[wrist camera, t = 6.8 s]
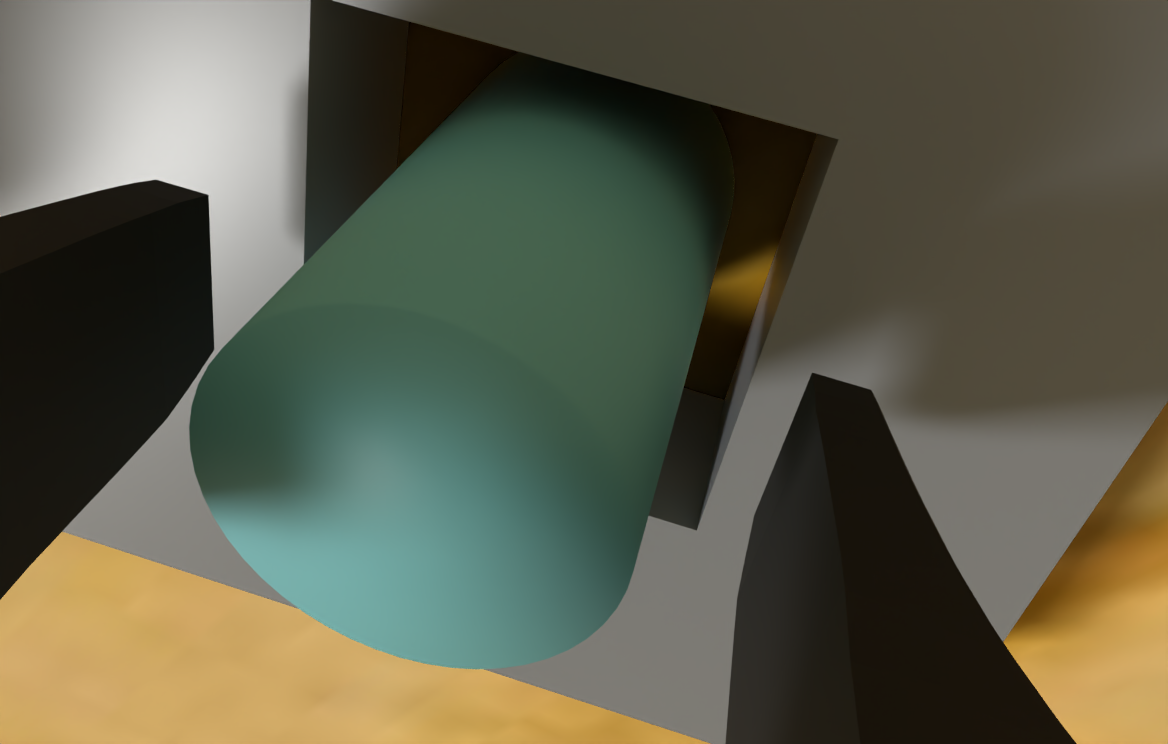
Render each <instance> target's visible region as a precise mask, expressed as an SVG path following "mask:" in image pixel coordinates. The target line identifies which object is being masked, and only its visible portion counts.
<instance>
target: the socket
mask: <svg viewBox="0 0 1168 744" xmlns="http://www.w3.org/2000/svg"><path fill="white" fill-rule="evenodd" d="M409 22H413V23H417V24H420V25H424V26H428V27H431V28H435V29H438V30H442V31H446V32H449V33H453V34H457V35H460V36H464V37H468V38H471V39H475V40H478V41H482V42H486V43H489V44H493V45H497V46H500V47H504V48H508V49H511V50H515V51H519V52H522V53H526V54H529V55H533V56H537V57H540V58H544V59H548V60H551V61H555V62H559V63H562V64H566V65H570V66H573V67H577V68H580V69H584V70H588V71H591V72H595V73H599V74H602V75H606V76H610V77H613V78H617V79H621V80H624V81H628V82H631V83H635V84H639V85H642V86H646V87H650V88H653V89H657V90H661V91H664V92H668V93H672V94H675V95H679V96H682V97H686V98H690V99H693V100H697V101H701V102H704V103H708V104H712V105H715V106H719V107H723V108H726V109H730V110H733V111H737V112H741V113H744V114H748V115H752V116H755V117H759V118H763V119H766V120H770V121H774V122H777V123H781V124H784V125H788V126H792V127H795V128H799V129H803V130H806V131H810V132H814V133H817V136H816V138H815V141H814V144H813V147H812V150H811V153H810V156H809V159H808V161H807V164H806V167H805V170H804V173H803V176H802V179H801V182H800V184H799V187H798V190H797V193H796V196H795V199H794V202H793V205H792V207H791V210H790V213H789V216H788V219H787V222H786V225H785V228H784V230H783V233H782V236H781V239H780V242H779V245H778V248H777V251H776V253H775V256H774V259H773V262H772V265H771V268H770V271H769V274H768V276H767V279H766V282H765V285H764V288H763V291H762V294H761V297H760V300H759V302H758V305H757V308H756V311H755V314H754V317H753V320H752V323H751V325H750V328H749V331H748V334H747V337H746V340H745V343H744V346H743V348H742V351H741V354H740V357H739V360H738V363H737V366H736V369H735V371H734V374H733V377H732V380H731V383H730V386H729V389H728V392H727V394H726V397H725V400H723V399H720V398H716V397H713V396H710V395H706V394H703V393H700V392H696V391H693V390H689V389H686V388H683V391H682V395H681V399H680V402H679V406H678V410H677V413H676V417H675V421H674V424H673V428H672V432H671V435H670V439H669V443H668V446H667V450H666V454H665V457H664V461H663V465H662V468H661V472H660V476H659V479H658V483H657V487H656V490H655V494H654V498H653V501H652V505H651V509H650V512H649V516H648V520H647V523H646V527H645V531H644V534H643V538H642V542H641V545H640V549H639V553H638V556H637V560H636V564H635V567H634V571H633V574H632V577H631V580H630V583H629V586H628V589H627V591H626V593H625V595H624V597H623V598H622V600H621V602H620V604H619V606H618V607H617V609H616V610H615V611H614V613H613V614H612V615H611V616H610V617H609V619H608V620H607V621H606V622H605V623H604V625H603V626H601V627H600V628H599V629H598V630H597V631H596V632H594V633H593V634H592V635H591V636H590V637H589V638H587V639H586V640H584V641H582V642H581V643H579V644H578V645H576V646H574V647H573V648H571V649H569V650H567V651H565V652H562V653H560V654H558V655H555V656H553V657H551V658H548V659H545V660H541V661H537V662H534V663H530V664H526V665H521V666H514V667H507V668H496V669H485V670H488V671H491V672H494V673H497V674H500V675H503V676H506V677H509V678H512V679H515V680H518V681H521V682H525V683H528V684H531V685H534V686H537V687H540V688H543V689H546V690H549V691H552V692H555V693H558V694H561V695H564V696H567V697H570V698H574V699H577V700H580V701H583V702H586V703H589V704H592V705H595V706H598V707H601V708H604V709H607V710H610V711H613V712H616V713H619V714H622V715H626V716H629V717H632V718H635V719H638V720H641V721H644V722H647V723H650V724H653V725H656V726H659V727H662V728H665V729H668V730H671V731H674V732H678V733H681V734H684V735H687V736H690V737H693V738H696V739H699V740H702V741H705V742H708V743H711V744H725V743H726V730H727V717H728V704H729V691H730V678H731V665H732V653H733V640H734V628H735V616H736V605H737V596H738V591H739V586H740V581H741V576H742V571H743V566H744V561H745V556H746V551H747V547H748V542H749V537H750V532H751V528H752V523H753V518H754V514H755V512H756V509H757V507H758V505H759V502H760V500H761V497H762V495H763V492H764V490H765V487H766V485H767V482H768V480H769V477H770V475H771V473H772V470H773V468H774V465H775V463H776V460H777V458H778V455H779V453H780V450H781V448H782V445H783V443H784V440H785V438H786V436H787V433H788V431H789V428H790V426H791V423H792V421H793V418H794V416H795V413H796V411H797V408H798V406H799V403H800V401H801V399H802V396H803V394H804V391H805V389H806V386H807V384H808V381H809V379H810V376H811V374H812V373H816V374H819V375H823V376H826V377H829V378H833V379H836V380H840V381H843V382H846V383H850V384H853V385H857V386H860V387H863V388H867V389H870V390H872V392H873V394H874V396H875V398H876V400H877V402H878V404H879V406H880V409H881V411H882V413H883V415H884V418H885V420H886V422H887V424H888V427H889V429H890V431H891V433H892V436H893V438H894V440H895V442H896V445H897V447H898V449H899V451H900V454H901V456H902V458H903V460H904V462H905V464H906V467H907V469H908V471H909V473H910V475H911V477H912V480H913V482H914V484H915V486H916V488H917V490H918V492H919V494H920V496H921V498H922V500H923V503H924V505H925V507H926V508H927V510H928V512H929V514H930V516H931V518H932V520H933V522H934V524H935V526H936V528H937V530H938V532H939V534H940V536H941V538H942V539H943V541H944V543H945V545H946V547H947V549H948V551H949V553H950V555H951V557H952V559H953V560H954V562H955V564H956V566H957V568H958V569H959V571H960V573H961V575H962V576H963V578H964V580H965V581H966V583H967V585H968V586H969V588H970V590H971V591H972V593H973V595H974V596H975V598H976V600H977V601H978V603H979V605H980V606H981V608H982V610H983V611H984V613H985V615H986V616H987V618H988V620H989V621H990V623H991V624H992V626H993V628H994V629H995V631H996V632H997V634H998V635H999V637H1000V638H1001V640H1002V641H1004V640H1005V638H1006V637H1007V635H1008V634H1009V633H1010V631H1011V630H1012V628H1013V627H1014V625H1015V624H1016V622H1017V621H1018V619H1019V618H1020V616H1021V615H1022V614H1023V612H1024V611H1025V609H1026V608H1027V606H1028V605H1029V603H1030V602H1031V600H1032V599H1033V597H1034V596H1035V595H1036V593H1037V592H1038V590H1039V589H1040V587H1041V586H1042V584H1043V583H1044V581H1045V580H1046V578H1047V577H1048V576H1049V574H1050V573H1051V571H1052V570H1053V568H1054V567H1055V565H1056V564H1057V562H1058V561H1059V559H1060V558H1061V557H1062V555H1063V554H1064V552H1065V551H1066V549H1067V548H1068V546H1069V545H1070V543H1071V542H1072V540H1073V539H1074V538H1075V536H1076V535H1077V533H1078V532H1079V530H1080V529H1081V527H1082V526H1083V524H1084V523H1085V521H1086V520H1087V519H1088V517H1089V516H1090V514H1091V513H1092V511H1093V510H1094V508H1095V507H1096V505H1097V504H1098V503H1099V501H1100V500H1101V498H1102V497H1103V495H1104V494H1105V492H1106V491H1107V489H1108V488H1109V486H1110V485H1111V484H1112V482H1113V481H1114V479H1115V478H1116V476H1117V475H1118V473H1119V472H1120V470H1121V469H1122V467H1123V466H1124V465H1125V463H1126V462H1127V460H1128V459H1129V457H1130V456H1131V454H1132V453H1133V451H1134V450H1135V448H1136V447H1137V446H1138V444H1139V443H1140V441H1141V440H1142V438H1143V437H1144V435H1145V434H1146V432H1147V431H1148V429H1149V428H1150V427H1151V425H1152V424H1153V422H1154V421H1155V419H1156V418H1157V416H1158V415H1159V413H1160V412H1161V410H1162V409H1163V408H1164V406H1165V405H1166V403H1167V402H1168V0H0V217H1V216H5V215H9V214H12V213H16V212H20V211H24V210H27V209H31V208H35V207H39V206H42V205H46V204H50V203H54V202H57V201H61V200H65V199H69V198H73V197H76V196H80V195H84V194H88V193H92V192H96V191H100V190H104V189H108V188H113V187H117V186H122V185H126V184H131V183H137V182H143V181H149V180H159V181H163V182H166V183H170V184H173V185H176V186H180V187H183V188H187V189H190V190H193V191H197V192H200V193H204V194H207V195H209V219H210V246H211V272H212V299H213V325H214V351H213V353H212V354H211V356H210V357H209V359H208V360H207V362H206V363H205V365H204V366H203V368H202V369H201V371H200V372H199V374H198V375H197V377H196V378H195V380H194V381H193V383H192V384H191V386H190V387H189V389H188V390H187V392H186V393H185V394H184V396H183V397H182V399H181V400H180V401H179V403H178V404H177V405H176V407H175V408H174V410H173V411H172V412H171V414H170V415H169V417H168V418H167V419H166V420H165V422H164V423H163V424H162V425H161V426H160V427H159V428H158V429H157V430H156V432H155V433H154V434H153V435H152V436H151V437H150V438H149V439H148V440H147V441H146V442H145V444H144V445H143V446H142V447H141V448H140V449H139V450H138V451H137V452H136V453H135V454H134V455H133V457H132V458H131V459H130V460H129V461H128V462H127V463H126V464H125V465H124V466H123V467H122V468H121V470H120V471H119V472H118V473H117V474H116V475H115V476H114V477H113V478H112V479H111V480H110V481H109V482H108V483H107V484H106V485H105V486H104V488H103V489H102V490H101V491H100V492H99V493H98V494H97V495H96V496H95V497H94V498H93V499H92V500H91V501H90V502H89V503H88V504H87V505H86V507H85V508H84V509H83V510H82V511H81V512H80V513H79V514H78V515H77V516H76V517H75V518H74V519H73V520H72V521H71V522H70V523H69V525H68V526H67V527H66V528H65V529H64V530H63V531H62V532H66V533H69V534H72V535H75V536H78V537H81V538H84V539H87V540H90V541H93V542H96V543H99V544H102V545H105V546H108V547H111V548H114V549H118V550H121V551H124V552H127V553H130V554H133V555H136V556H139V557H142V558H145V559H148V560H151V561H154V562H157V563H160V564H163V565H167V566H170V567H173V568H176V569H179V570H182V571H185V572H188V573H191V574H194V575H197V576H200V577H203V578H206V579H209V580H212V581H215V582H219V583H222V584H225V585H228V586H231V587H234V588H237V589H240V590H243V591H246V592H249V593H252V594H255V595H258V596H261V597H264V598H267V599H271V600H274V601H277V602H280V603H283V604H286V605H289V606H292V607H295V608H298V607H296V606H295V605H294V604H292V603H291V602H290V601H288V600H287V599H285V598H284V597H283V596H281V595H280V594H279V593H278V592H277V591H276V590H275V589H274V588H272V587H271V586H270V585H269V584H268V583H267V582H266V581H264V580H263V579H262V578H261V577H260V576H259V575H258V574H257V573H256V572H255V571H254V570H253V568H252V567H251V566H250V565H249V564H248V563H247V562H246V561H245V560H244V559H243V558H242V557H241V555H240V554H239V553H238V551H237V550H236V549H235V548H234V546H233V545H232V544H231V543H230V541H229V540H228V539H227V537H226V536H225V534H224V533H223V531H222V530H221V528H220V526H219V525H218V523H217V522H216V520H215V519H214V517H213V515H212V513H211V511H210V509H209V507H208V505H207V503H206V501H205V499H204V497H203V495H202V492H201V489H200V486H199V483H198V480H197V477H196V475H195V471H194V466H193V461H192V456H191V451H190V436H189V424H190V415H191V406H192V403H193V399H194V396H195V393H196V390H197V386H198V384H199V382H200V380H201V378H202V376H203V374H204V372H205V371H206V369H207V367H208V365H209V364H210V363H211V361H212V360H213V359H214V358H215V356H216V355H217V354H218V353H219V352H220V350H221V349H222V348H223V347H224V346H225V345H226V344H227V343H228V342H229V341H230V340H231V339H232V338H233V337H234V336H235V335H236V333H237V332H238V331H239V330H240V329H241V328H242V327H243V326H244V325H245V324H246V323H247V322H248V321H249V320H250V319H251V318H252V317H253V316H254V315H255V314H256V313H257V312H258V311H259V310H260V309H261V308H262V307H263V306H264V305H265V304H266V303H267V302H268V301H269V300H270V299H271V298H272V297H273V296H274V295H275V294H276V293H277V291H278V290H279V289H280V288H281V287H282V286H283V285H284V284H285V283H286V282H287V281H288V280H289V279H290V278H291V277H292V276H293V275H294V274H295V273H296V272H297V271H298V270H299V269H300V268H301V267H302V266H303V265H304V264H305V263H306V262H307V261H308V260H309V259H310V258H311V257H312V256H313V255H314V254H315V253H316V252H317V250H318V249H319V248H320V247H321V246H322V245H323V244H324V243H325V242H326V241H327V240H328V239H329V238H330V237H331V236H332V235H333V234H334V233H335V232H336V231H337V230H338V229H339V228H340V227H341V226H342V225H343V224H344V223H345V222H346V221H347V220H348V219H349V218H350V217H351V216H352V215H353V214H354V213H355V212H356V211H357V209H358V208H359V207H360V206H361V205H362V204H363V203H364V202H365V201H366V200H367V199H368V198H369V197H370V196H371V195H372V194H373V193H374V192H375V191H376V190H377V189H378V188H379V187H380V186H381V185H382V184H383V183H384V182H385V181H386V180H387V179H388V178H389V177H390V176H391V175H392V174H393V173H394V172H395V171H396V170H397V159H398V147H399V135H400V123H401V111H402V99H403V88H404V76H405V64H406V52H407V40H408V28H409ZM298 609H299V608H298Z"/></svg>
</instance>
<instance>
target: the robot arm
mask: <svg viewBox="0 0 1168 744" xmlns="http://www.w3.org/2000/svg"><path fill="white" fill-rule="evenodd" d="M213 351H214V325H213V299H212V272H211V246H210V219H209V195H207V194H204V193H200V192H197V191H193V190H190V189H187V188H183V187H180V186H176V185H173V184H170V183H166V182H163V181H159V180H149V181H143V182H137V183H131V184H126V185H122V186H117V187H113V188H108V189H104V190H100V191H96V192H92V193H88V194H84V195H80V196H76V197H73V198H69V199H65V200H61V201H57V202H54V203H50V204H46V205H42V206H39V207H35V208H31V209H27V210H24V211H20V212H16V213H12V214H9V215H5V216H1V217H0V599H1V598H2V597H3V596H4V595H5V594H6V592H7V591H8V590H9V589H10V588H11V587H12V586H13V584H14V583H15V582H16V581H17V580H18V579H19V577H20V576H21V575H22V574H23V573H24V572H25V571H26V569H27V568H28V567H29V566H30V565H31V564H32V563H33V562H34V561H35V559H36V558H37V557H38V556H39V555H40V554H41V553H42V552H43V551H44V550H45V549H46V548H47V547H48V546H49V545H50V544H51V543H52V541H53V540H54V539H55V538H56V537H57V536H58V535H59V534H60V533H61V532H62V531H63V530H64V529H65V528H66V527H67V526H68V525H69V523H70V522H71V521H72V520H73V519H74V518H75V517H76V516H77V515H78V514H79V513H80V512H81V511H82V510H83V509H84V508H85V507H86V505H87V504H88V503H89V502H90V501H91V500H92V499H93V498H94V497H95V496H96V495H97V494H98V493H99V492H100V491H101V490H102V489H103V488H104V486H105V485H106V484H107V483H108V482H109V481H110V480H111V479H112V478H113V477H114V476H115V475H116V474H117V473H118V472H119V471H120V470H121V468H122V467H123V466H124V465H125V464H126V463H127V462H128V461H129V460H130V459H131V458H132V457H133V455H134V454H135V453H136V452H137V451H138V450H139V449H140V448H141V447H142V446H143V445H144V444H145V442H146V441H147V440H148V439H149V438H150V437H151V436H152V435H153V434H154V433H155V432H156V430H157V429H158V428H159V427H160V426H161V425H162V424H163V423H164V422H165V420H166V419H167V418H168V417H169V415H170V414H171V412H172V411H173V410H174V408H175V407H176V405H177V404H178V403H179V401H180V400H181V399H182V397H183V396H184V394H185V393H186V392H187V390H188V389H189V387H190V386H191V384H192V383H193V381H194V380H195V378H196V377H197V375H198V374H199V372H200V371H201V369H202V368H203V366H204V365H205V363H206V362H207V360H208V359H209V357H210V356H211V354H212V353H213ZM725 744H1076V742H1075V741H1074V740H1073V739H1072V737H1071V736H1070V735H1069V733H1068V732H1067V731H1066V730H1065V728H1064V727H1063V726H1062V724H1061V723H1060V722H1059V721H1058V719H1057V718H1056V717H1055V715H1054V714H1053V712H1052V711H1051V710H1050V708H1049V707H1048V705H1047V704H1046V703H1045V701H1044V700H1043V698H1042V697H1041V696H1040V694H1039V693H1038V691H1037V690H1036V689H1035V687H1034V686H1033V684H1032V683H1031V682H1030V680H1029V679H1028V677H1027V676H1026V675H1025V673H1024V672H1023V670H1022V669H1021V668H1020V666H1019V665H1018V663H1017V662H1016V661H1015V659H1014V658H1013V656H1012V655H1011V653H1010V652H1009V650H1008V649H1007V647H1006V646H1005V644H1004V643H1003V641H1002V640H1001V638H1000V637H999V635H998V634H997V632H996V631H995V629H994V628H993V626H992V624H991V623H990V621H989V620H988V618H987V616H986V615H985V613H984V611H983V610H982V608H981V606H980V605H979V603H978V601H977V600H976V598H975V596H974V595H973V593H972V591H971V590H970V588H969V586H968V585H967V583H966V581H965V580H964V578H963V576H962V575H961V573H960V571H959V569H958V568H957V566H956V564H955V562H954V560H953V559H952V557H951V555H950V553H949V551H948V549H947V547H946V545H945V543H944V541H943V539H942V538H941V536H940V534H939V532H938V530H937V528H936V526H935V524H934V522H933V520H932V518H931V516H930V514H929V512H928V510H927V508H926V507H925V505H924V503H923V500H922V498H921V496H920V494H919V492H918V490H917V488H916V486H915V484H914V482H913V480H912V477H911V475H910V473H909V471H908V469H907V467H906V464H905V462H904V460H903V458H902V456H901V454H900V451H899V449H898V447H897V445H896V442H895V440H894V438H893V436H892V433H891V431H890V429H889V427H888V424H887V422H886V420H885V418H884V415H883V413H882V411H881V409H880V406H879V404H878V402H877V400H876V398H875V396H874V394H873V392H872V390H870V389H867V388H863V387H860V386H857V385H853V384H850V383H846V382H843V381H840V380H836V379H833V378H829V377H826V376H823V375H819V374H816V373H812V374H811V376H810V379H809V381H808V384H807V386H806V389H805V391H804V394H803V396H802V399H801V401H800V403H799V406H798V408H797V411H796V413H795V416H794V418H793V421H792V423H791V426H790V428H789V431H788V433H787V436H786V438H785V440H784V443H783V445H782V448H781V450H780V453H779V455H778V458H777V460H776V463H775V465H774V468H773V470H772V473H771V475H770V477H769V480H768V482H767V485H766V487H765V490H764V492H763V495H762V497H761V500H760V502H759V505H758V507H757V509H756V512H755V514H754V518H753V523H752V528H751V532H750V537H749V542H748V547H747V551H746V556H745V561H744V566H743V571H742V576H741V581H740V586H739V591H738V596H737V605H736V616H735V628H734V640H733V653H732V665H731V678H730V691H729V704H728V717H727V730H726V743H725Z"/></svg>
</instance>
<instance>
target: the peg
mask: <svg viewBox="0 0 1168 744" xmlns="http://www.w3.org/2000/svg"><path fill="white" fill-rule="evenodd" d="M734 178H735V177H734V168H733V160H732V156H731V152H730V148H729V144H728V140H727V138H726V136H725V133H724V131H723V128H722V126H721V123H720V122H719V120H718V118H717V116H716V115H715V113H714V111H713V109H712V108H711V106H710V105H709V104H708V103H704V102H701V101H697V100H693V99H690V98H686V97H682V96H679V95H675V94H672V93H668V92H664V91H661V90H657V89H653V88H650V87H646V86H642V85H639V84H635V83H631V82H628V81H624V80H621V79H617V78H613V77H610V76H606V75H602V74H599V73H595V72H591V71H588V70H584V69H580V68H577V67H573V66H570V65H566V64H562V63H559V62H555V61H551V60H548V59H544V58H540V57H537V56H533V55H529V54H526V53H522V52H518V53H517V54H515V55H514V56H512V57H510V58H509V59H507V60H506V61H504V62H503V63H502V64H501V65H499V66H498V67H497V68H496V69H495V70H494V71H492V72H491V73H490V74H489V75H488V76H487V77H486V78H485V79H484V80H483V81H482V82H481V83H480V84H479V85H478V87H477V88H476V89H475V90H474V91H473V92H472V93H471V94H470V95H469V96H468V97H467V98H466V99H465V100H464V101H463V102H462V103H461V104H460V105H459V106H458V107H457V108H456V109H455V110H454V111H453V112H452V113H451V114H450V115H449V116H448V117H447V118H446V119H445V120H444V121H443V122H442V123H441V124H440V125H439V126H438V128H437V129H436V130H435V131H434V132H433V133H432V134H431V135H430V136H429V137H428V138H427V139H426V140H425V141H424V142H423V143H422V144H421V145H420V146H419V147H418V148H417V149H416V150H415V151H414V152H413V153H412V154H411V155H410V156H409V157H408V158H407V159H406V160H405V161H404V162H403V163H402V164H401V165H400V166H399V167H398V169H397V170H396V171H395V172H394V173H393V174H392V175H391V176H390V177H389V178H388V179H387V180H386V181H385V182H384V183H383V184H382V185H381V186H380V187H379V188H378V189H377V190H376V191H375V192H374V193H373V194H372V195H371V196H370V197H369V198H368V199H367V200H366V201H365V202H364V203H363V204H362V205H361V206H360V207H359V208H358V209H357V211H356V212H355V213H354V214H353V215H352V216H351V217H350V218H349V219H348V220H347V221H346V222H345V223H344V224H343V225H342V226H341V227H340V228H339V229H338V230H337V231H336V232H335V233H334V234H333V235H332V236H331V237H330V238H329V239H328V240H327V241H326V242H325V243H324V244H323V245H322V246H321V247H320V248H319V249H318V250H317V252H316V253H315V254H314V255H313V256H312V257H311V258H310V259H309V260H308V261H307V262H306V263H305V264H304V265H303V266H302V267H301V268H300V269H299V270H298V271H297V272H296V273H295V274H294V275H293V276H292V277H291V278H290V279H289V280H288V281H287V282H286V283H285V284H284V285H283V286H282V287H281V288H280V289H279V290H278V291H277V293H276V294H275V295H274V296H273V297H272V298H271V299H270V300H269V301H268V302H267V303H266V304H265V305H264V306H263V307H262V308H261V309H260V310H259V311H258V312H257V313H256V314H255V315H254V316H253V317H252V318H251V319H250V320H249V321H248V322H247V323H246V324H245V325H244V326H243V327H242V328H241V329H240V330H239V331H238V332H237V333H236V335H235V336H234V337H233V338H232V339H231V340H230V341H229V342H228V343H227V344H226V345H225V346H224V347H223V348H222V349H221V350H220V352H219V353H218V354H217V355H216V356H215V358H214V359H213V360H212V361H211V363H210V364H209V365H208V367H207V369H206V371H205V372H204V374H203V376H202V378H201V380H200V382H199V384H198V386H197V390H196V393H195V396H194V399H193V403H192V406H191V415H190V424H189V436H190V451H191V456H192V461H193V466H194V471H195V475H196V477H197V480H198V483H199V486H200V489H201V492H202V495H203V497H204V499H205V501H206V503H207V505H208V507H209V509H210V511H211V513H212V515H213V517H214V519H215V520H216V522H217V523H218V525H219V526H220V528H221V530H222V531H223V533H224V534H225V536H226V537H227V539H228V540H229V541H230V543H231V544H232V545H233V546H234V548H235V549H236V550H237V551H238V553H239V554H240V555H241V557H242V558H243V559H244V560H245V561H246V562H247V563H248V564H249V565H250V566H251V567H252V568H253V570H254V571H255V572H256V573H257V574H258V575H259V576H260V577H261V578H262V579H263V580H264V581H266V582H267V583H268V584H269V585H270V586H271V587H272V588H274V589H275V590H276V591H277V592H278V593H279V594H280V595H281V596H283V597H284V598H285V599H287V600H288V601H290V602H291V603H292V604H294V605H295V606H296V607H298V608H299V609H300V610H302V611H303V612H305V613H306V614H308V615H309V616H311V617H313V618H314V619H316V620H317V621H319V622H321V623H322V624H324V625H325V626H327V627H329V628H331V629H333V630H335V631H337V632H339V633H340V634H342V635H344V636H346V637H348V638H350V639H352V640H355V641H357V642H359V643H362V644H364V645H367V646H369V647H371V648H374V649H376V650H379V651H382V652H385V653H388V654H391V655H394V656H397V657H400V658H404V659H408V660H413V661H417V662H421V663H425V664H431V665H437V666H444V667H450V668H465V669H496V668H507V667H514V666H521V665H526V664H530V663H534V662H537V661H541V660H545V659H548V658H551V657H553V656H555V655H558V654H560V653H562V652H565V651H567V650H569V649H571V648H573V647H574V646H576V645H578V644H579V643H581V642H582V641H584V640H586V639H587V638H589V637H590V636H591V635H592V634H593V633H594V632H596V631H597V630H598V629H599V628H600V627H601V626H603V625H604V623H605V622H606V621H607V620H608V619H609V617H610V616H611V615H612V614H613V613H614V611H615V610H616V609H617V607H618V606H619V604H620V602H621V600H622V598H623V597H624V595H625V593H626V591H627V589H628V586H629V583H630V580H631V577H632V574H633V571H634V567H635V564H636V560H637V556H638V553H639V549H640V545H641V542H642V538H643V534H644V531H645V527H646V523H647V520H648V516H649V512H650V509H651V505H652V501H653V498H654V494H655V490H656V487H657V483H658V479H659V476H660V472H661V468H662V465H663V461H664V457H665V454H666V450H667V446H668V443H669V439H670V435H671V432H672V428H673V424H674V421H675V417H676V413H677V410H678V406H679V402H680V399H681V395H682V391H683V388H684V384H685V380H686V377H687V373H688V369H689V366H690V362H691V358H692V355H693V351H694V347H695V344H696V340H697V336H698V333H699V329H700V325H701V322H702V318H703V314H704V311H705V307H706V303H707V300H708V296H709V292H710V289H711V285H712V281H713V278H714V274H715V270H716V267H717V263H718V259H719V256H720V252H721V248H722V245H723V241H724V237H725V234H726V230H727V226H728V223H729V219H730V215H731V211H732V205H733V199H734Z"/></svg>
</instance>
